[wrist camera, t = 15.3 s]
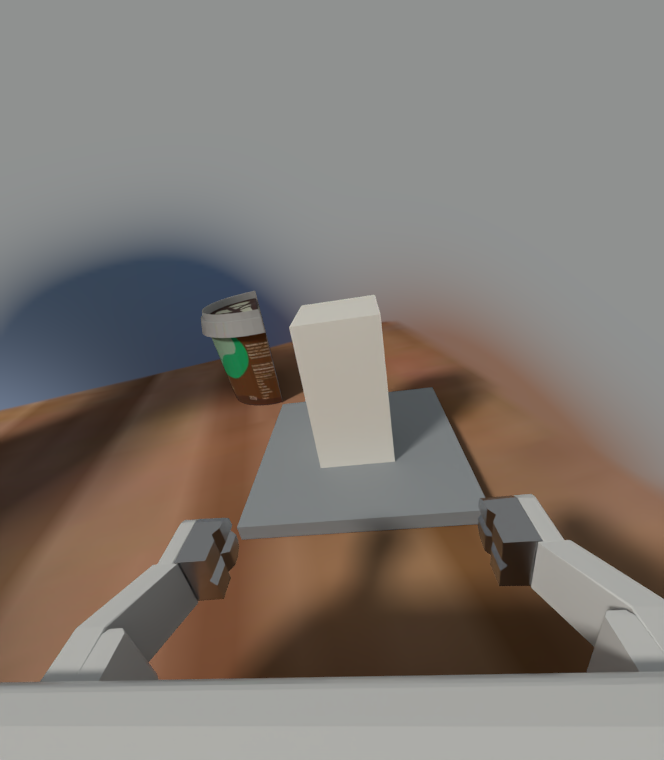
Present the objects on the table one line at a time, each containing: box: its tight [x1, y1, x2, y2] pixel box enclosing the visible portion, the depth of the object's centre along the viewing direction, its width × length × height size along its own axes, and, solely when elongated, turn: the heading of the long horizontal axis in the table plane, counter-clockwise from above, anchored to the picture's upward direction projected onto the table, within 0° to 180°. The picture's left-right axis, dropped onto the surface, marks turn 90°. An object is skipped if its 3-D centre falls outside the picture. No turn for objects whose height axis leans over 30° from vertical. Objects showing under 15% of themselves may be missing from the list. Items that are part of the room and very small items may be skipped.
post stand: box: [237, 387, 485, 539], centre depth 23 cm, size 14×14×8 cm
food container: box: [201, 291, 283, 405], centre depth 36 cm, size 12×6×10 cm, turn 14°
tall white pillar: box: [289, 295, 395, 468], centre depth 22 cm, size 5×5×10 cm
